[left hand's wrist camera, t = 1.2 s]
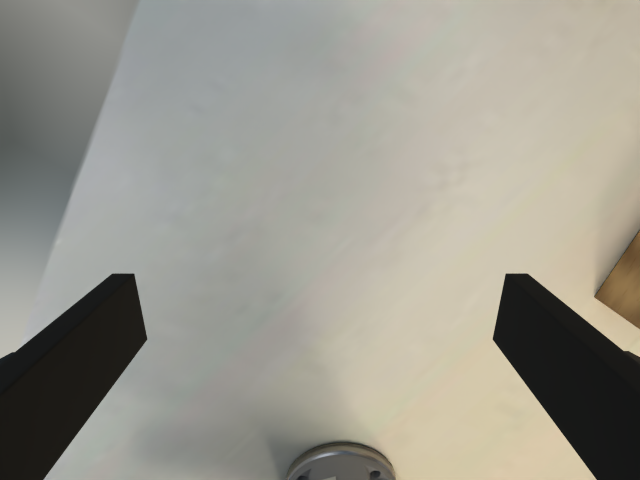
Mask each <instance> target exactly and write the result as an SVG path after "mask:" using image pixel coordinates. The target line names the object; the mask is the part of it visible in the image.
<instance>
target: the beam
mask: <svg viewBox="0 0 640 480" xmlns="http://www.w3.org/2000/svg"><path fill="white" fill-rule="evenodd" d="M595 298H596V299H598V300H599V301H601V302H602V303H603V304H605V305H606V306H608V307H609V308H610V309H612V310H613V311H615V312H616V313H618V314H619V315H620V316H622V317H623V318H625V319H626V320H627V321H629V322H630V323H632V324H633V325H635V326H636V327H637V328H639V329H640V231H639V232H638V234H637V235H636V237H635V238H634V240H633V241H632V243H631V244H630V245H629V247H628V248H627V250H626V251H625V253H624V254H623V256H622V257H621V259H620V260H619V262H618V263H617V265H616V266H615V268H614V269H613V270H612V272H611V273H610V275H609V276H608V278H607V279H606V281H605V282H604V284H603V285H602V287H601V288H600V290H599V291H598V293H597V294H596V295H595Z"/></svg>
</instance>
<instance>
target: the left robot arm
mask: <svg viewBox="0 0 640 480" xmlns="http://www.w3.org/2000/svg"><path fill="white" fill-rule="evenodd" d="M146 340H147V335H146V330H145V325H144V320H143V315H142V310H141V305H140V300H139V295H138V290H137V285H136V280H135V275H134V274H111V275H110V276H109V277H108V278H106V279H105V280H104V281H103V282H102V283H100V284H99V285H98V286H97V287H95V288H94V289H93V290H92V291H90V292H89V293H88V294H87V295H85V296H84V297H83V298H82V299H80V300H79V301H78V302H77V303H75V304H74V305H73V306H72V307H71V308H69V309H68V310H67V311H66V312H64V313H63V314H62V315H61V316H59V317H58V318H57V319H56V320H54V321H53V322H52V323H51V324H49V325H48V326H47V327H46V328H44V329H43V330H42V331H41V332H39V333H38V334H37V335H36V336H35V337H33V338H32V339H31V340H30V341H28V342H27V343H26V344H25V345H23V346H22V347H21V348H20V349H18V350H17V351H16V352H12V353H10V354H8V355H6V356H5V357H3V358H1V359H0V480H43V479H44V478H45V477H46V475H47V474H48V472H49V471H50V470H51V468H52V467H53V466H54V464H55V463H56V462H57V460H58V459H59V458H60V456H61V455H62V454H63V452H64V451H65V450H66V448H67V447H68V446H69V444H70V443H71V441H72V440H73V439H74V437H75V436H76V435H77V433H78V432H79V431H80V429H81V428H82V427H83V425H84V424H85V423H86V421H87V420H88V419H89V417H90V416H91V415H92V413H93V412H94V410H95V409H96V408H97V406H98V405H99V404H100V402H101V401H102V400H103V398H104V397H105V396H106V394H107V393H108V392H109V390H110V389H111V388H112V386H113V385H114V384H115V382H116V381H117V379H118V378H119V377H120V375H121V374H122V373H123V371H124V370H125V369H126V367H127V366H128V365H129V363H130V362H131V361H132V359H133V358H134V357H135V355H136V354H137V352H138V351H139V350H140V348H141V347H142V346H143V344H144V343H145V342H146ZM493 340H494V342H495V343H496V344H497V346H498V347H499V348H500V350H501V351H502V352H503V354H504V355H505V357H506V358H507V359H508V361H509V362H510V363H511V365H512V366H513V367H514V369H515V370H516V371H517V373H518V374H519V375H520V377H521V378H522V379H523V381H524V382H525V384H526V385H527V386H528V388H529V389H530V390H531V392H532V393H533V394H534V396H535V397H536V398H537V400H538V401H539V402H540V404H541V405H542V406H543V408H544V409H545V410H546V412H547V413H548V415H549V416H550V417H551V419H552V420H553V421H554V423H555V424H556V425H557V427H558V428H559V429H560V431H561V432H562V433H563V435H564V436H565V437H566V439H567V440H568V441H569V443H570V444H571V446H572V447H573V448H574V450H575V451H576V452H577V454H578V455H579V456H580V458H581V459H582V460H583V462H584V463H585V464H586V466H587V467H588V468H589V470H590V471H591V472H592V474H593V475H594V477H595V478H596V479H597V480H640V357H638V356H636V355H635V354H633V353H631V352H629V351H623V350H622V349H620V348H619V347H618V346H617V345H615V344H614V343H613V342H612V341H610V340H609V339H608V338H607V337H605V336H604V335H603V334H602V333H601V332H599V331H598V330H597V329H596V328H594V327H593V326H592V325H591V324H589V323H588V322H587V321H586V320H584V319H583V318H582V317H581V316H579V315H578V314H577V313H576V312H574V311H573V310H572V309H571V308H569V307H568V306H567V305H566V304H565V303H563V302H562V301H561V300H560V299H558V298H557V297H556V296H555V295H553V294H552V293H551V292H550V291H548V290H547V289H546V288H545V287H543V286H542V285H541V284H540V283H538V282H537V281H536V280H535V279H534V278H532V277H531V276H530V275H529V274H506V275H505V280H504V285H503V290H502V295H501V300H500V305H499V310H498V315H497V320H496V325H495V330H494V335H493ZM286 480H396V477H395V473H394V470H393V468H392V466H391V464H390V463H389V462H388V460H387V459H386V458H385V457H383V456H382V455H381V454H379V453H378V452H376V451H374V450H372V449H370V448H368V447H365V446H361V445H357V444H351V443H333V444H327V445H322V446H319V447H316V448H313V449H311V450H309V451H307V452H305V453H304V454H302V455H301V456H300V457H299V458H297V459H296V460H295V462H294V463H293V464H292V465H291V467H290V469H289V471H288V474H287V479H286Z"/></svg>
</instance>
